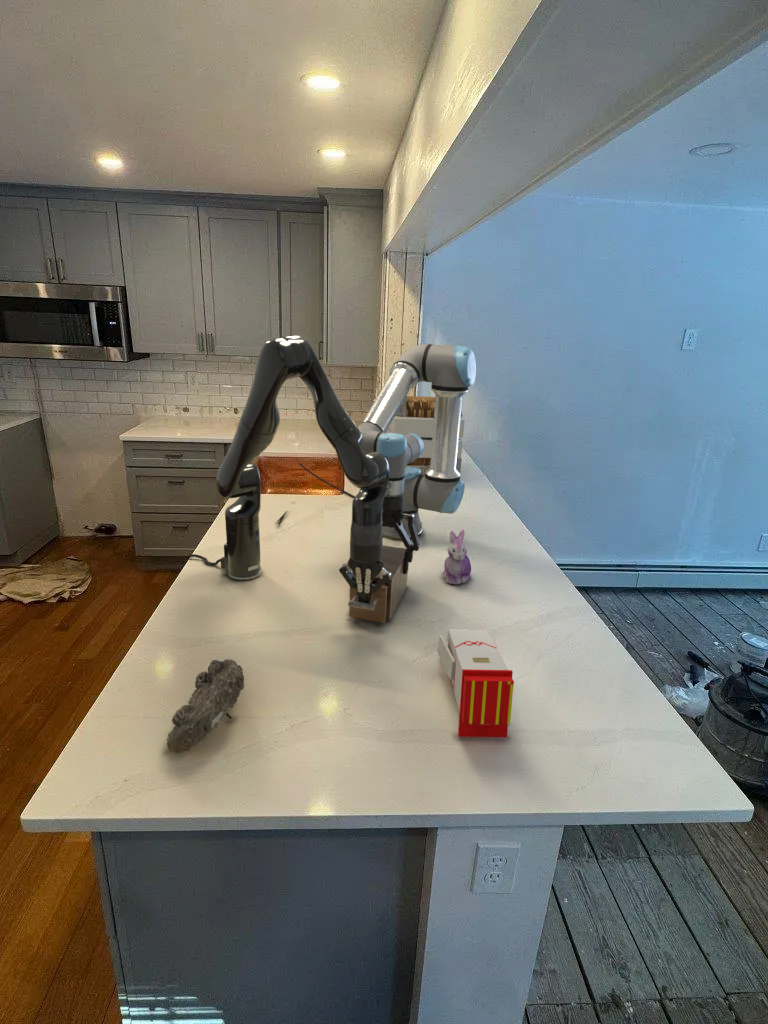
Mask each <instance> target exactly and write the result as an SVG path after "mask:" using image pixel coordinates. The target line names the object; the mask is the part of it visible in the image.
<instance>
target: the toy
mask: <svg viewBox="0 0 768 1024" xmlns="http://www.w3.org/2000/svg"><path fill="white" fill-rule="evenodd" d="M446 640H447V643H446V641H445V639H444V636H443V635H442V634H439V637H438V646H437V656H438V657H439V659H440V661H441V663H442V666H443V668H444V670H445V672H446V674H447V677H448V679H449V681H450V684H451V687H452V690H453V693H454V697H455V701H456V705H457V708H458V711H459V714H458V715H459V716H458V730H457V731H458V732H457V737H458V738H508V731H509V726H510V725H511V717H512V707H513V697H514V696H513V695H514V684H515V680H514V679H513V673H514V671H513V670H512V669H508V667H507V665H506V662H505V661H504V659H503V658H502V655H501V653H500V651H499V649H498V647H497V643H496V639H495V637H494V635H493V634H491V632H490V631H489V629H467V628H466V629H465V628H463V629H461V628H460V629H459V628H448V630H447V639H446Z"/></svg>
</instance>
